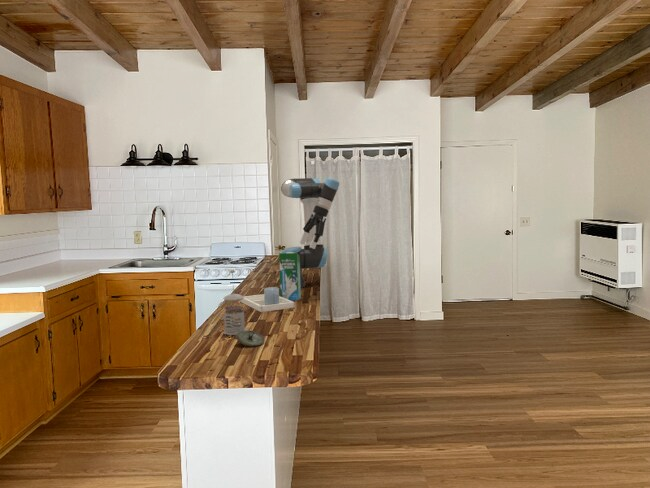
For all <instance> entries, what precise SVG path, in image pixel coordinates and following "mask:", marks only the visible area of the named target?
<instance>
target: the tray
mask: <svg viewBox="0 0 650 488" xmlns="http://www.w3.org/2000/svg"><path fill="white" fill-rule="evenodd" d="M243 297H244V298H243V299H242V300H240V302H241V304H244V305H245V306H248V307H250V308H252V309H253V310H255V311H258V312H260V313H264V312H265V313H266V312H271V311H278V310H280V311H281V310H286V309H294V308H295V302H294V301H293V300H288V299H285V298H283V297H281V295H279V304H273V305H266V306H265V299H264V293H263V294H254V295H247V296H243Z"/></svg>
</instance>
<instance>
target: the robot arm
mask: <svg viewBox="0 0 650 488" xmlns="http://www.w3.org/2000/svg"><path fill="white" fill-rule="evenodd" d="M280 187H281V188H280V190H281V193H282V195H283V196H284V197H287V198H291V199H300V202H301V203H302V204H303V218H304V219H303V220H304V227H303V229H302V230H303V233H302V235H301V239H300V241H299V244H301V245H303V248H302V247H301V246H290V247H287V248H284V249H283V250H282V251H281V253H286V252H294V253H297V254H298V255H299V256H300V284H301V289H303V287H304V288H306V281H305V278H304V276H303V269H304V270H305V269H318V268H324V267H325V266H326V265H327V261H328V250H327V249H328V248H326V247H324V244H323V243H322V242H321V237H323V236H324V230H325V224H326V220H327V218H326V217H327V216H328V215H329V210H330V209H331V208H332V204H333V201H334V200H335V196H336V194H337V192H338V190H339V187H340V181H339V180H336V179H334V178H332V177H326V178H325V180H324V182H321V181H320V180H319V178H314V177H313V178H312V177H306V178H304V177H303V178H301V177H300V178H290V179H287V180H284V182H283V183H282V184H281V186H280Z"/></svg>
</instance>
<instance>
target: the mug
mask: <svg viewBox="0 0 650 488" xmlns="http://www.w3.org/2000/svg"><path fill="white" fill-rule="evenodd" d="M263 294H264V299H265V306H266V305H273V304H279V296H280V287H279V286H271V287H270V286H269V287H264V288H263Z"/></svg>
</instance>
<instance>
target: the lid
mask: <svg viewBox="0 0 650 488" xmlns="http://www.w3.org/2000/svg"><path fill="white" fill-rule="evenodd" d="M235 339H236V340H237V341H238V343H240V344H242V345H243V346H246V347H253V348H254V347H259V346H262V345H263V344H264V343H265V337H264V336H263V335H262V334H261V333H259V332H257V331H254V330H247V331H240V332H238V333H237V334H236V335H235Z"/></svg>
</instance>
